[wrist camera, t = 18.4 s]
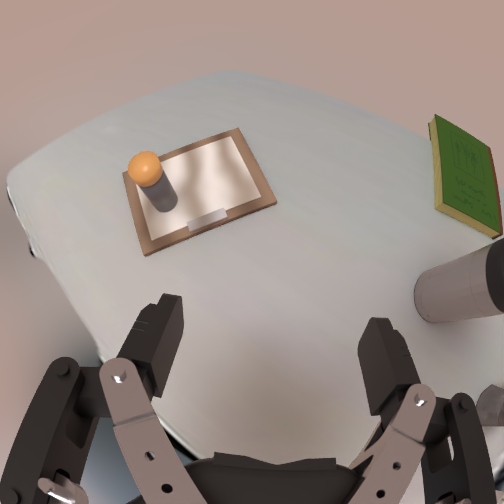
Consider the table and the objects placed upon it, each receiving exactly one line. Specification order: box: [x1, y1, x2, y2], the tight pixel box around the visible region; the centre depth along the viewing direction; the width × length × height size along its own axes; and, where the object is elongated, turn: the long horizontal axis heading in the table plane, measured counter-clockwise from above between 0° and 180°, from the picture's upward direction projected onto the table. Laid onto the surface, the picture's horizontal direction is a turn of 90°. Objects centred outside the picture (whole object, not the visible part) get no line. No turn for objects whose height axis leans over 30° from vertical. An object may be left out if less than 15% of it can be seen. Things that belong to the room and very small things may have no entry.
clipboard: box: [122, 128, 277, 256], centre depth 44 cm, size 22×16×2 cm
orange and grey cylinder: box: [128, 151, 178, 212], centre depth 37 cm, size 4×4×11 cm
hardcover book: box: [428, 114, 503, 239], centre depth 46 cm, size 25×19×4 cm
